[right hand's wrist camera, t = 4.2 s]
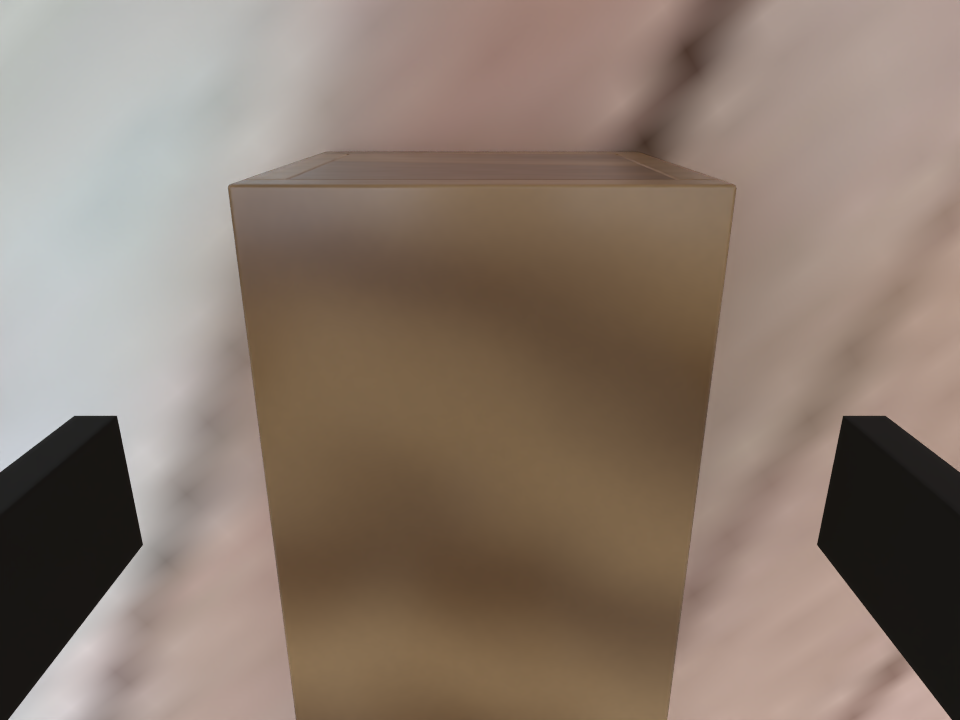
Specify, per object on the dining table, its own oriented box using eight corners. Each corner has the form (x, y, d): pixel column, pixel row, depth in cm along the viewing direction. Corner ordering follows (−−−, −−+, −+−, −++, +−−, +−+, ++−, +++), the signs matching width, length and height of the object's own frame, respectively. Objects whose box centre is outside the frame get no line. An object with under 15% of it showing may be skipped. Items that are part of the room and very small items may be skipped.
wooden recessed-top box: (600, 648, 29) (648, 872, 21) (363, 648, 29) (314, 871, 21) (640, 151, 22) (738, 184, 14) (324, 151, 22) (226, 184, 14)
